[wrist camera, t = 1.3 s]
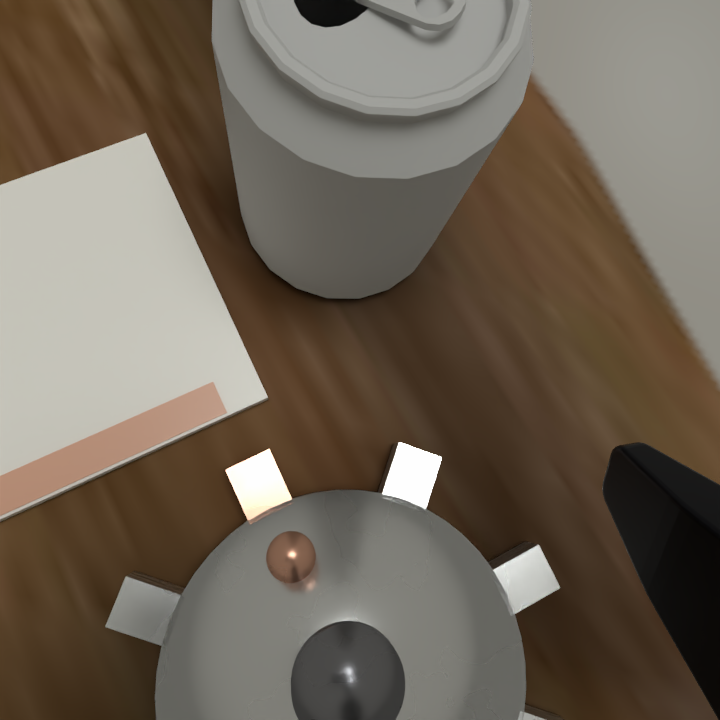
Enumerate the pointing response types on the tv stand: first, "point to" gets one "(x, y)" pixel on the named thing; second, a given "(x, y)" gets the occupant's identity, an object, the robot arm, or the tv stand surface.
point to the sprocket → (341, 609)
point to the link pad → (105, 325)
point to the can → (362, 125)
